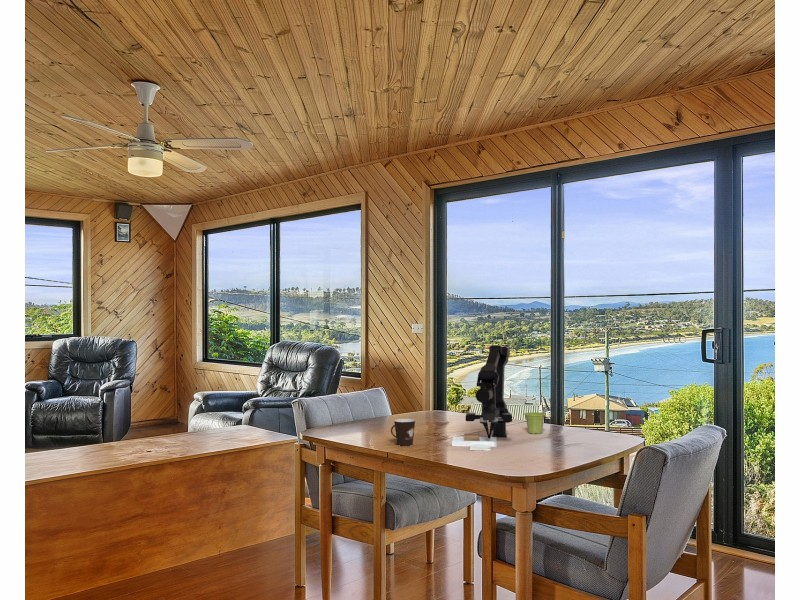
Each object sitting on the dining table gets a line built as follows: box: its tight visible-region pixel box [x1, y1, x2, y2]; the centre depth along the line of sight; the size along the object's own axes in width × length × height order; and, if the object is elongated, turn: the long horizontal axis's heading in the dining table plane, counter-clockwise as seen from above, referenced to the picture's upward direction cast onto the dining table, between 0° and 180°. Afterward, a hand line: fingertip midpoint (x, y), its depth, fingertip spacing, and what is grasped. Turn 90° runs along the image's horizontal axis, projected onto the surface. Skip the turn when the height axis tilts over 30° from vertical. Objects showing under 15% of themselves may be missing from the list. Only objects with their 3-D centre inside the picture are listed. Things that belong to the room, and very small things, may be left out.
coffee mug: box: [390, 418, 416, 447], centre depth 252 cm, size 12×9×10 cm
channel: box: [451, 436, 498, 448], centre depth 253 cm, size 10×18×2 cm, turn 82°
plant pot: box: [523, 411, 546, 435], centre depth 277 cm, size 9×9×9 cm
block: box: [463, 433, 480, 441], centre depth 253 cm, size 5×6×4 cm
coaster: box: [469, 445, 492, 452], centre depth 243 cm, size 8×8×1 cm
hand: (489, 438), depth 252 cm, fingers closed
